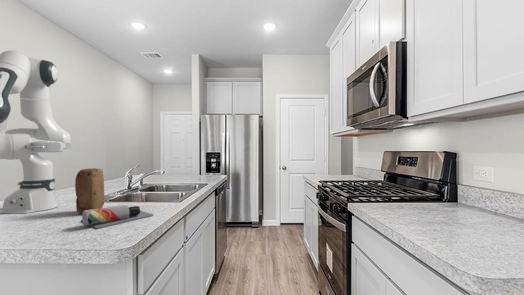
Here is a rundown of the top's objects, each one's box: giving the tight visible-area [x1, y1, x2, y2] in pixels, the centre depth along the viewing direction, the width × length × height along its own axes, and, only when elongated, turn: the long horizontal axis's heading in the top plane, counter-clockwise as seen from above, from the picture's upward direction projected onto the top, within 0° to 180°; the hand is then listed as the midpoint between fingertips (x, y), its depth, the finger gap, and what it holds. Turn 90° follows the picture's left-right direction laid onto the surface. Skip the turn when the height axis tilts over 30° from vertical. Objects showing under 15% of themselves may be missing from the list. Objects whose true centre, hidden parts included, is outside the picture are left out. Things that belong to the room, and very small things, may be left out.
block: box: [74, 168, 105, 214], centre depth 118 cm, size 11×8×20 cm
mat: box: [80, 210, 154, 230], centre depth 108 cm, size 22×16×1 cm
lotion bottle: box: [81, 204, 141, 226], centre depth 104 cm, size 6×6×20 cm
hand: (69, 145), depth 101 cm, fingers closed
